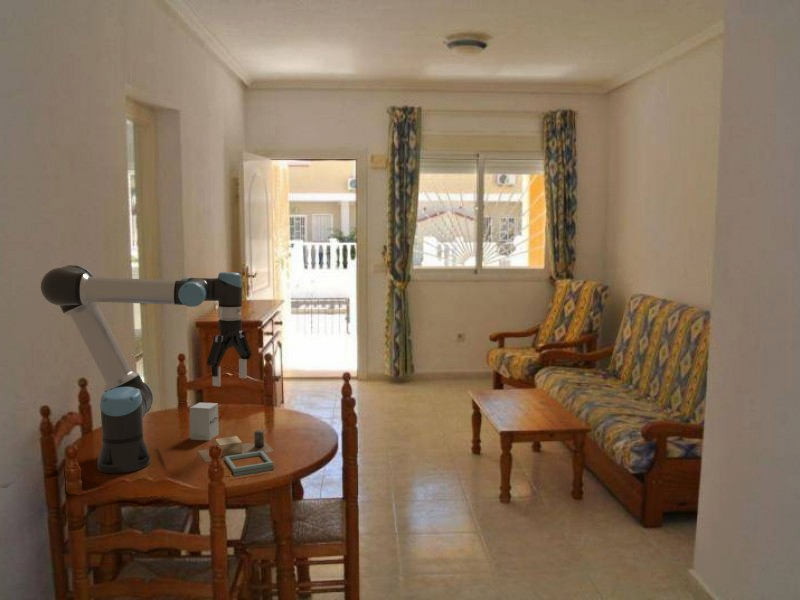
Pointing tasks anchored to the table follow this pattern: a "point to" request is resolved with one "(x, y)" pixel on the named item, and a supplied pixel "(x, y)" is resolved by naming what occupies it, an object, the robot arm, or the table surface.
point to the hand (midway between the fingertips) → (230, 381)
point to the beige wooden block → (229, 445)
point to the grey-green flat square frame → (249, 467)
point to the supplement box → (204, 421)
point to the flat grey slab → (244, 447)
